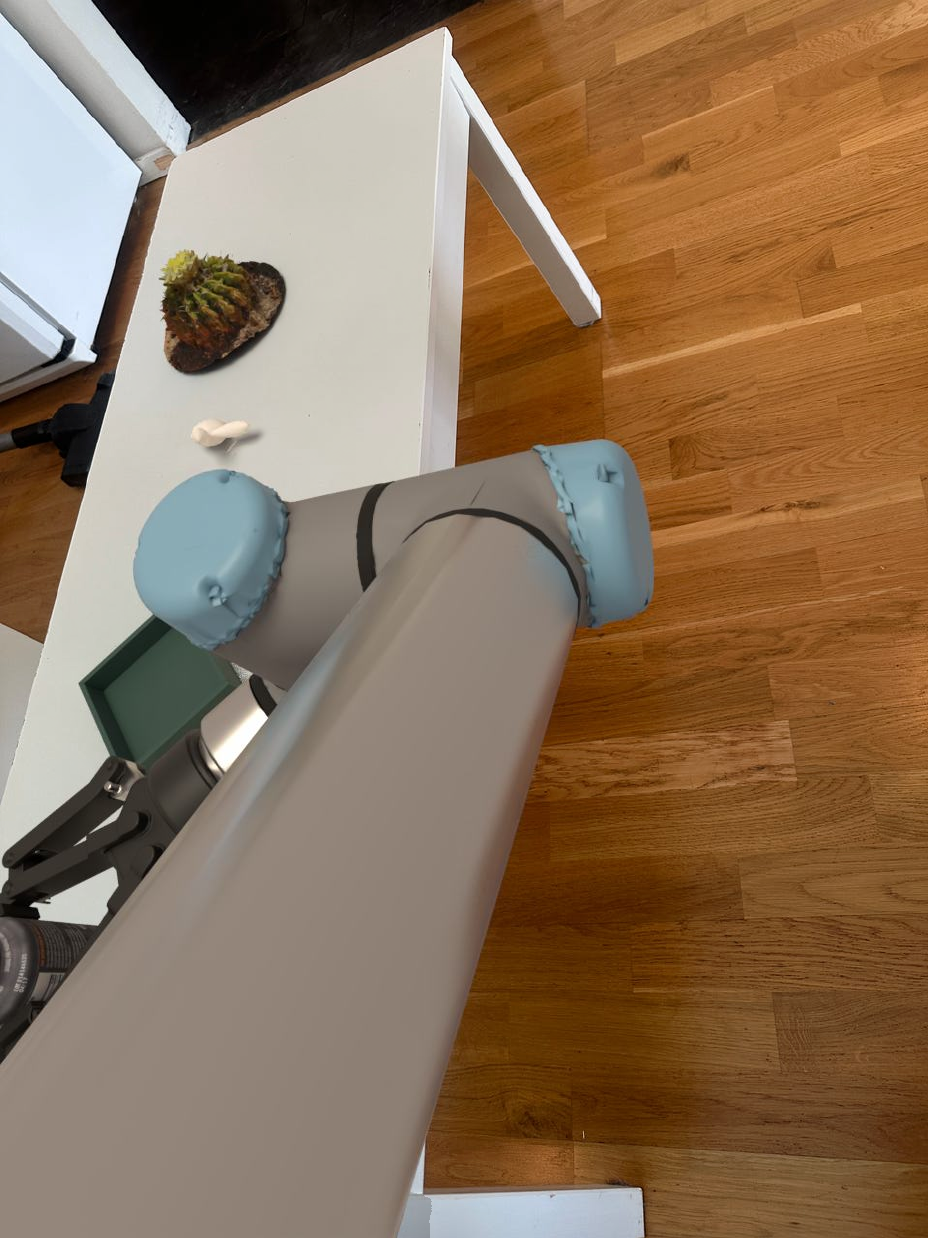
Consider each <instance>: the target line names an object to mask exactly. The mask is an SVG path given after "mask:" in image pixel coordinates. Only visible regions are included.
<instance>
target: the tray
mask: <svg viewBox="0 0 928 1238" xmlns="http://www.w3.org/2000/svg"><path fill="white" fill-rule="evenodd" d="M242 683H243V682H242V680H241V678H240V677H239V675H238V674H237V671H236V670H235V668H234V666H233V665H232V662H230V661H228V660H226V659H224V658H222V657H220V656H218V655H216V654H215V653H213V652H211V651H208V650H206V649H204V648H203V647H202V648H201V649H200V648H198V647H197V646H196V645H194V644H192V643H191V642H190V640H189V639H187V637H186V636H185V635H184V634H182V633H181V632H179V631H178V630H176V629H175V628H173V627H172V626H170V625H169V624H167V623H166V622H164V621H163V620H161V619H160V618H158V617H157V616H155V615H154V614H153V613H152V615H150V617H149V618H147V619H146V620H145V621H144V622H143V623H141V625H140V626H138V627H137V628H136V629H135V630H134V631H133V632H132V633H131V634H130V635H129V636H128V637H126V639H125V640H123V641H122V642H121V643H120V644H118V646H116V648H115V649H113V651H111V652H110V653H109V654H108V655H107V656H106V657H105V658H103V660H101V661H100V662H99V663H98V664H97V665H96V666H94V667H93V669H91V671H90V672H89V673H87V674H86V675H85V676H84V677H83V678H82V679H81V680H80V681H78V687H79V689H80V691H81V693H82V695H83V697H84V700H85V702H86V704H87V707H88V710H89V712H90V714H91V716H92V718H93V720H94V721H93V722H94V723H95V725H96V727H97V730H98V731H99V734H100V737H101V739H102V741H103V743H104V745H105V746H104V747H105V748H106V750H107V753H108V755H109V757H110V756H117V757H120V758H122V759H126V760H129V761H131V762H134V763H137V764H140V765H143V766H144V767H145V770H146V773H145V776H148V774H149V771H150V769H151V767H152V765H153V764H154V763H155V762H156V761H157V760H158V759H159V758H160V757H162V756H163V755H164V754H165V753H166V752H167V751H168V750H169V749H170V748H171V747H173V746H174V745H175V744H176V743H177V742H178V741H179V740H180V739H181V738H182V737H184V736H185V735H186V734H187V733H188V732H189V731H191V730H193V729H201V721H202V719H203V718H204V717H205V716H206V715H207V714H208V713H209V712H210V711H211V710H213V709H214V708H215V707H216V706H217V705H218V704H219V703H220V702H222V701H223V700H224V699H225V698H226V697H227V696H228V695H230V694H231V693H232V692H233V691H234V690H235V689H236V688H237V687H239V686H240V685H241V684H242Z"/></svg>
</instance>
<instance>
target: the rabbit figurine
mask: <svg viewBox="0 0 928 1238" xmlns="http://www.w3.org/2000/svg"><path fill="white" fill-rule="evenodd" d="M250 429H251V423H249V422H248V421H246V420H234V421H230V422H227V423H226V422H225V421H223V420H222V419H219V418H207V419H204V420H202V421H199V422H198V423H197V424H195V426H194V427H193V428H192V430H191V435H190V437H189V438H190V439H191V440H192V441H193V442H194V444H196V445H198V446H201V447H215V446H218V445H220V444H222V443H223V442H224V441H225V440H226V439H227V438H228V439H229V438H234V437H239V436H242V435H244V434H245V433H247V432H249V430H250ZM237 443H238V441H237V440H235V441H234V442H233V443H232V444H231V445H230V446H229V448H227V450H226V453H229V452H230V451H231V450H232V449H233V448H234V446H235V445H236V444H237Z"/></svg>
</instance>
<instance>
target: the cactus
mask: <svg viewBox="0 0 928 1238" xmlns="http://www.w3.org/2000/svg"><path fill="white" fill-rule="evenodd" d="M174 254H175V256H174V258H173V257H170V258H168V260H167V263H165V264H164V266H166V267H162V268H160V269H159V270H160V272H163V276H161V277H158V280H159V281H164V282H163V283H162V286H163V287H166V289H165V288H164V291H162V294H164V296H163V299H162V300H161V301H160V303H161V305H160V307H162V308H161V309H159V311H160V312H162V313H163V314H164V315H162V317H161V319H160V321H164V322H165V330H164V331H165V333H164V335H165V336H164V343H163V352H164V356H165V358H166V361H167V362H168V364H169V365H170V366H171V367H173V369H175V370H177V371H179V372H180V373H183V372H193V371H196V370H197V371H198V370H201V369H204V368H205V367H208V366H210V365H212V364H213V362H214V361H215V360H222V359H223V358H225V357H226V356H228V355H229V353H231V352H232V351H234V350H235V349H237V348H238V347H239V346H243V343H244V342H247V341H248V340H249V339H250V338H255V336H256V334H255V333H260V332H262V331H264V330H266V329H267V327H268V326H270V324H271V320H272V319H273V317H274V316H275V315H276V313H277V311H278V309H279V305H280V304H281V301H283V299H282V298H283V293H284V292H285V283H284V281H283V278H282V275H281V272H280V271H279V269H277V268H276V267H274V265H272V264H270V263H267V262H263V261H262V262H258V261H255V260H253V261H252V260H249V261H243V260H241V261H238V263H236V262H235V261H234V260H233V259H231V258H229V257H230V253H228V254H226V256H225V257H224V258H223V256H222V255H220V256H217V255H210V256H208V254H209V253H208V252H206V254H205V255H204V256H203V258H199V256H198V254H196V253H195V250H192V249H191V250H189V249H186V248H184V249H183V250H178V253H177V252H174ZM220 254H222V251H220ZM233 255H234V254H231V257H232V258H233Z"/></svg>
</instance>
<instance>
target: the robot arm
mask: <svg viewBox="0 0 928 1238" xmlns="http://www.w3.org/2000/svg"><path fill="white" fill-rule="evenodd" d="M531 447H532V448H530V449H528V450H525V451H521V452H516V453H512V454H507V455H503V456H499V457H495V458H489V459H485V460H480V461H477V462H476V461H475V462H472V463H467V464H463V465H459V466H453V467H450V468H446V469H441V470H437V471H432V472H427V473H424V474H419V475H415V476H410V477H406V478H402V479H401V478H400V479H396V480H392V481H388V482H381V483H375V484H371V485H370V484H369V485H366V486H361V487H356V488H351V489H347V490H341V491H337V492H332V493H328V494H323V495H317V496H313V497H309V498H305V499H300V500H296V501H286V500H282V497H281V496H280V494H279V492H278V491H276V490H274V487H269V486H268V485H265V484H263V483H262V482H260V481H258V480H257V479H256V478H254V477H253V476H251V475H247V474H246V473H244V472H239V471H236V470H229V469H227V468H217V469H211V470H207V471H203V472H200V473H198V474H195V475H193V476H191V477H189V478H187V479H186V480H184V481H182V482H181V483H179V484H178V485H176V486H175V487H174V488H173V489H171V490H170V491H169V492H168V493H167V494H166V495H165V496H163V498H162V499H161V500H160V501H159V502H158V503H157V505H155V507H154V509H153V510H152V511H151V513H150V514H149V516H148V518H147V519H146V521H145V522H144V525H143V527H142V529H141V530H140V533H139V535H138V539H137V548H136V550H135V551H134V555H135V556H134V558H133V562H132V563H133V565H132V574H133V581H134V586H135V589H136V591H137V594H138V596H139V599H140V600H141V602H142V603H143V605H144V606H145V608H147V610H148V611H149V612H150V613H151V614H152V615H153V614H154V615H155V616H157V617H158V618H160V619H161V620H163V621H164V622H166V623H167V624H169V625H170V626H172V627H173V628H175V629H176V630H178V631H179V632H181V633H182V634H184V635H185V636H186V637H187V639H189V640H190V642H191V643H192V644H194V645H196V646H197V647H198V648H200V649H201V648H202V647H203V648H204V649H206V650H208V651H211V652H213V653H215V654H216V655H218V656H220V657H222V658H224V659H226V660H228V661H229V662H230V663H231V664H234V665H235V666H238V667H240V668H241V669H244V670H246V671H248V672H250V673H252V674H251V675H250V676H249V677H248V678H246V679H245V680H244V681H243V682H242V684H241V685H240V686H239V687H237V688H236V689H235V690H234V691H233V692H232V693H231V694H230V695H228V696H227V697H226V698H225V699H224V700H223V701H222V702H220V703H219V704H218V705H217V706H216V707H215V708H214V709H213V710H211V711H210V712H209V713H208V714H207V715H206V716H205V717H204V718H203V719H202V721H201V729H193V730H191V731H189V732H188V733H187V734H186V735H185V736H184V737H182V738H181V739H180V740H179V741H178V742H177V743H176V744H175V745H174V746H173V747H171V748H170V749H169V750H168V751H167V752H166V753H165V754H164V755H163V756H162V757H160V758H159V759H158V760H157V761H156V762H155V763H154V764H153V765H152V767H151V769H150V771H149V774H148V776H145V773H146V770H145V767H144V766H143V765H140V764H137V763H134V762H131V761H129V760H126V759H122V758H120V757H117V756H110V755H109V756H108V757H107V758H106V759H105V760H104V762H102V764H101V765H100V767H99V768H98V770H97V771H96V772H95V774H94V775H93V776H92V778H91V779H90V781H89V782H88V783H87V784H85V785H84V786H83V787H81V789H80V790H78V791H77V792H76V793H75V794H73V795H72V796H71V797H69V798H68V800H66V801H65V802H64V803H63V804H61V805H60V806H59V807H58V808H56V809H55V810H54V811H53V812H51V814H49V815H48V816H46V818H44V819H43V820H42V821H41V822H39V823H38V824H36V826H35V827H33V828H32V829H31V830H30V831H28V832H27V833H26V834H25V835H24V836H23V837H21V838H20V839H19V840H18V841H16V842H15V843H13V845H12V846H10V847H9V848H8V849H6V851H5V852H4V853H3V855H2V857H1V865H2V867H3V868H4V869H8V870H7V871H8V872H7V875H8V876H7V880H6V881H4V883H3V885H2V887H1V892H0V917H13V918H24V919H35V920H41V914H40V911H39V908H38V907H37V906H32V905H33V904H41V905H42V904H43V905H51V903H52V902H51V901H49V900H51V899H52V898H53V897H55V896H57V895H60V894H61V893H64V892H66V891H67V890H69V889H71V888H73V887H76V886H78V885H79V884H81V883H84V882H85V881H88V880H89V879H92V878H94V877H96V876H98V875H100V874H103V873H104V872H106V871H108V870H110V869H112V868H113V869H114V870H115V872H116V878H117V885H118V886H117V887H116V888H115V890H114V891H113V892H112V893H111V895H110V897H109V898H108V900H107V902H106V908H107V912H106V913H105V915H104V916H103V918H102V919H101V920H100V922H99V924H98V925H97V928H96V929H95V931H94V932H93V934H92V935H91V937H90V938H89V940H88V941H87V942H86V944H85V945H84V947H83V948H82V950H81V951H80V953H79V954H78V956H77V957H76V958H75V960H74V961H73V963H72V964H71V966H70V967H69V969H68V970H67V972H66V973H65V974H64V976H63V977H62V979H61V980H60V982H59V983H58V985H57V986H56V988H55V989H54V990H53V992H52V993H51V995H50V996H49V998H48V999H47V1001H29V1002H28V1003H27V1004H26V1005H25V1006H24V1007H23V1008H22V1009H20V1010H19V1011H18V1012H17V1013H16V1014H15V1015H14V1016H13V1017H12V1018H10V1019H9V1020H8V1021H7V1022H6V1023H5V1024H4V1025H3V1026H2V1027H0V1238H398V1235H399V1231H400V1228H401V1225H402V1222H403V1219H404V1215H405V1211H406V1207H407V1204H408V1201H409V1198H410V1194H411V1191H412V1187H413V1185H414V1180H415V1177H416V1174H417V1171H418V1166H419V1164H420V1160H421V1157H422V1153H423V1151H424V1147H425V1144H426V1140H427V1136H428V1133H429V1129H430V1126H431V1123H432V1121H433V1116H434V1113H435V1109H436V1107H437V1102H438V1099H439V1096H440V1092H441V1089H442V1086H443V1082H444V1079H445V1075H446V1072H447V1070H448V1065H449V1062H450V1059H451V1056H452V1051H453V1048H454V1045H455V1042H456V1038H457V1035H458V1031H459V1028H460V1025H461V1021H462V1017H463V1014H464V1011H465V1007H466V1004H467V1001H468V997H469V995H470V990H471V987H472V983H473V980H474V977H475V973H476V970H477V967H478V964H479V960H480V956H481V953H482V950H483V946H484V942H485V939H486V936H487V932H488V929H489V926H490V922H491V919H492V916H493V912H494V908H495V906H496V902H497V899H498V896H499V892H500V888H501V885H502V882H503V878H504V875H505V871H506V869H507V864H508V862H509V858H510V855H511V852H512V849H513V845H514V840H515V837H516V835H517V831H518V827H519V824H520V821H521V817H522V813H523V810H524V807H525V804H526V800H527V797H528V793H529V790H530V788H531V787H530V786H531V783H532V779H533V776H534V773H535V769H536V766H537V762H538V760H539V756H540V752H541V749H542V746H543V742H544V739H545V735H546V732H547V728H548V725H549V723H550V718H551V716H552V715H551V714H552V712H553V708H554V705H555V702H556V698H557V694H558V691H559V689H560V688H559V687H560V685H561V681H562V678H563V674H564V672H565V671H564V670H565V668H566V663H567V662H568V661H567V660H568V657H569V654H570V650H571V647H572V644H573V641H574V637H575V635H576V632H577V630H578V628H584V627H587V628H588V629H591V630H593V629H596V630H597V629H600V628H601V627H602V626H603V625H605V624H608V623H613V622H618V621H625V620H628V619H629V620H630V619H633V618H634V617H636V616H637V615H638V614H639V613H643V612H644V611H645V610H646V609H647V608H648V606H649V604H650V603H651V601H652V598H653V595H654V587H655V563H654V547H653V540H652V531H651V526H650V520H649V514H648V509H647V504H646V499H645V495H644V490H643V487H642V484H641V480H640V476H639V473H638V471H637V467H636V465H635V463H634V461H633V459H632V458H631V456H630V453H628V452H627V450H625V448H623V447H622V446H621V445H620V444H618V443H616V442H614V441H612V440H608V439H604V438H600V439H592V440H585V441H577V442H576V441H575V442H569V443H563V444H554V445H553V444H552V445H544V444H537V445H536V444H535V445H533V446H531ZM120 809H121V810H120ZM119 810H120V811H119ZM117 811H119V814H118V817H116V819H115V820H113V821H111V822H110V823H108V824H105V825H104V826H101V827H100V828H98V827H99V826H100V825H102V824H103V823H104V822H106V821H107V820H108V819H109V818H110V817H112V816H113V814H115V813H116V812H117ZM97 828H98V829H97ZM83 839H85V840H83ZM82 840H83V841H82ZM80 841H81V842H80Z"/></svg>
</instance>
